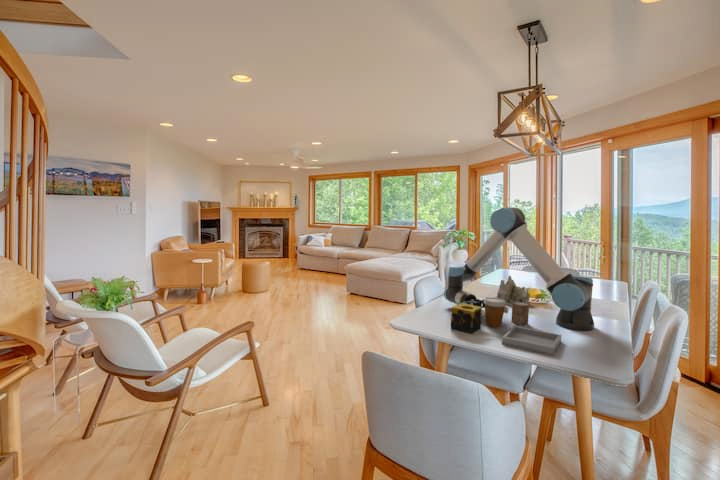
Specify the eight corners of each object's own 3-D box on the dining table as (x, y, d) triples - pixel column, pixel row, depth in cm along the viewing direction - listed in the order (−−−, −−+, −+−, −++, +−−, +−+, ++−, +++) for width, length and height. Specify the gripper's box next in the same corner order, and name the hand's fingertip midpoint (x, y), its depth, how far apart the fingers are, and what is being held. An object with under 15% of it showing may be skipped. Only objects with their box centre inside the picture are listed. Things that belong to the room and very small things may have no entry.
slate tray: (560, 341, 148) (561, 335, 148) (553, 355, 133) (553, 348, 133) (513, 332, 158) (514, 325, 158) (501, 343, 144) (502, 336, 144)
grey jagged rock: (490, 300, 213) (493, 275, 211) (510, 299, 220) (514, 274, 218) (511, 309, 199) (515, 282, 197) (533, 307, 206) (536, 281, 204)
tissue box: (459, 324, 168) (460, 302, 167) (481, 329, 162) (482, 306, 161) (449, 329, 160) (450, 306, 159) (472, 334, 154) (473, 311, 153)
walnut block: (519, 320, 175) (520, 302, 174) (527, 324, 170) (529, 304, 169) (511, 321, 173) (512, 303, 172) (519, 325, 168) (520, 305, 168)
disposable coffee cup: (506, 330, 161) (508, 303, 160) (483, 328, 163) (485, 301, 162) (502, 323, 170) (504, 297, 169) (481, 321, 172) (482, 296, 171)
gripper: (486, 305, 189) (517, 317, 169) (444, 309, 180) (471, 322, 161) (487, 291, 188) (518, 301, 169) (445, 294, 180) (472, 305, 160)
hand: (495, 311), depth 165 cm, fingers open, 13 cm apart
